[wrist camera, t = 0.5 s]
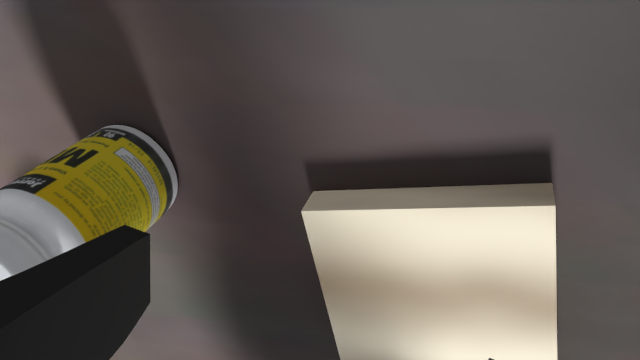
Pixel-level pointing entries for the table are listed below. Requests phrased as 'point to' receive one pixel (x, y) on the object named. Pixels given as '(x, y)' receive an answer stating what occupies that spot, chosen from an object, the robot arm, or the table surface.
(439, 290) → the birch block
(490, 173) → the table surface
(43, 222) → the supplement bottle
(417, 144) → the table surface
